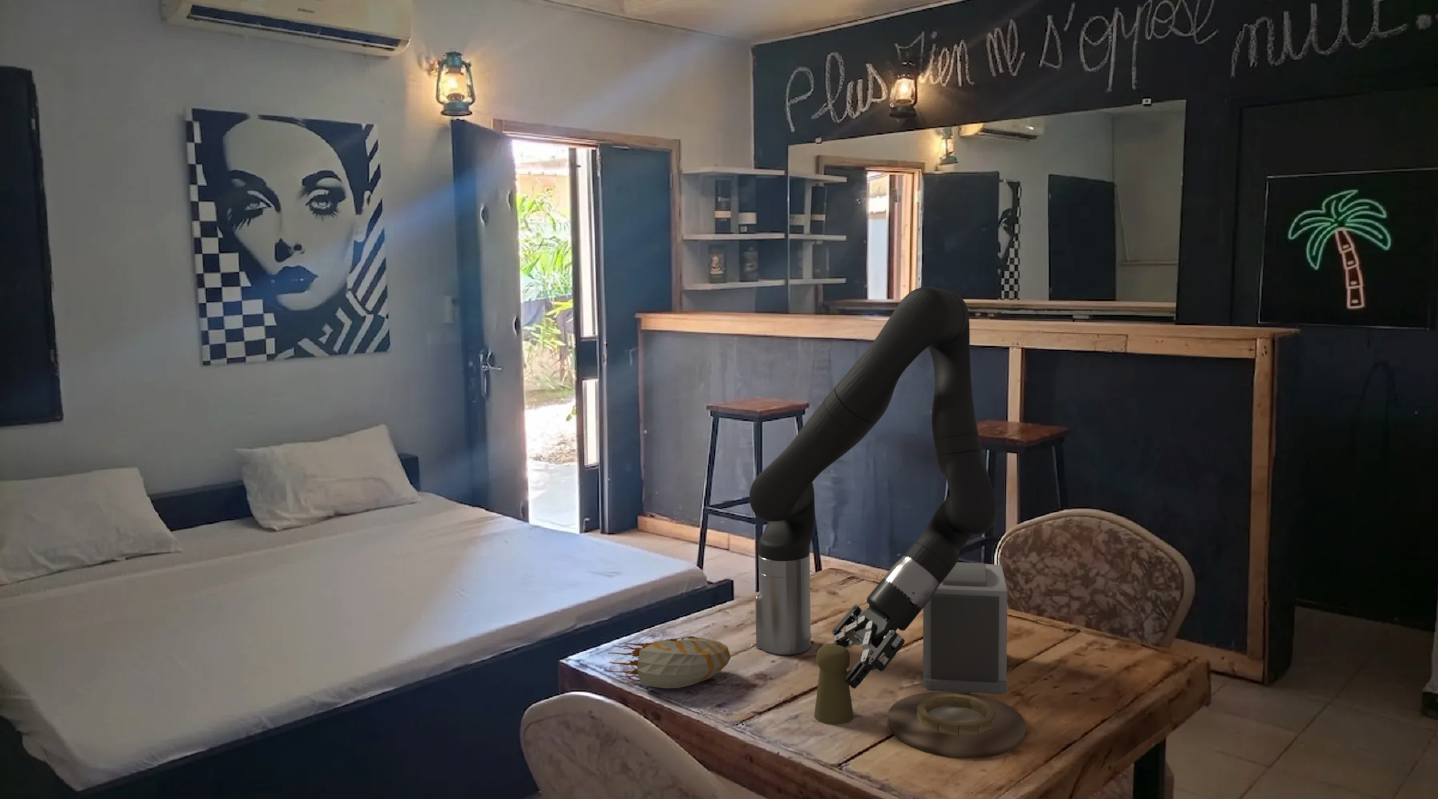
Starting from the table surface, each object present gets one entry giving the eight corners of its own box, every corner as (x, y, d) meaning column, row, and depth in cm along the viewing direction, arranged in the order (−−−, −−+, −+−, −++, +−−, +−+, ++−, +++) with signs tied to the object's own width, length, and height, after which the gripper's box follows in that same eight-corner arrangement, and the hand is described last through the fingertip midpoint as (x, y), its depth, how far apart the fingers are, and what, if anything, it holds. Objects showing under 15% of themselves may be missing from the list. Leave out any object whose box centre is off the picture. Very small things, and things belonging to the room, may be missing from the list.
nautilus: (589, 694, 171) (629, 665, 185) (710, 702, 163) (742, 672, 177) (586, 646, 170) (626, 621, 184) (707, 653, 163) (739, 626, 177)
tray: (872, 744, 149) (872, 726, 149) (905, 691, 168) (905, 675, 167) (1015, 767, 141) (1015, 749, 141) (1033, 709, 159) (1033, 692, 159)
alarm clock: (1007, 694, 165) (1008, 583, 163) (923, 689, 168) (923, 580, 166) (999, 652, 183) (1000, 551, 181) (923, 648, 186) (923, 549, 184)
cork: (857, 710, 161) (856, 642, 159) (849, 726, 155) (848, 656, 154) (819, 705, 163) (818, 638, 161) (809, 721, 157) (808, 652, 156)
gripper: (866, 565, 166) (802, 644, 164) (910, 591, 152) (840, 677, 150) (896, 593, 168) (833, 671, 166) (942, 621, 155) (873, 706, 153)
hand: (836, 674), depth 158 cm, fingers open, 8 cm apart
